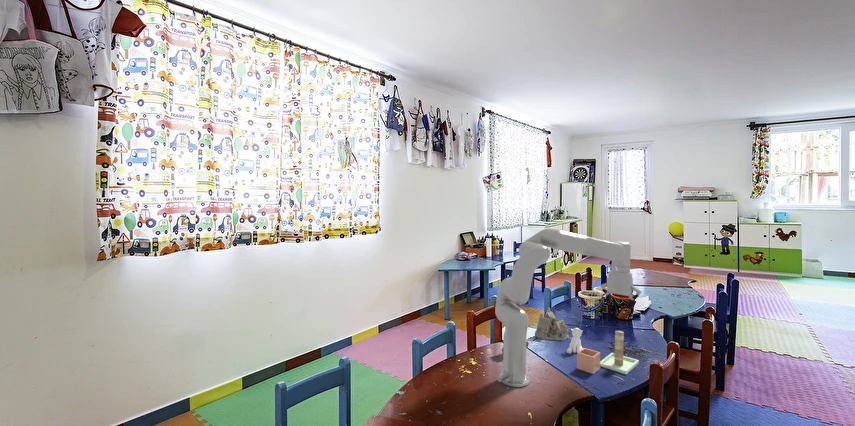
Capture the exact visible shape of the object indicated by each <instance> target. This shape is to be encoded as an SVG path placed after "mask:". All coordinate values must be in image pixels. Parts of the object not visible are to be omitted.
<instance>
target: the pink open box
mask: <svg viewBox="0 0 855 426" xmlns="http://www.w3.org/2000/svg"><path fill="white" fill-rule="evenodd" d="M582 348H583V349H582V350H580V351H579V352H577V351H576V369H577V370H581V371H584V372H586V373H589V374H592V375H594V374H596V372H598V371H599V370H600V369H601V367H600V361H601V352H600V351H597V350H593V349H589V348H586V347H582Z"/></svg>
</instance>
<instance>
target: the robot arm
mask: <svg viewBox="0 0 855 426" xmlns="http://www.w3.org/2000/svg"><path fill="white" fill-rule="evenodd" d="M549 248H551V249H555V250H557V251H558V250H559V251H563V252H569V253H573V254H577V255H583V256H586V257H587V256H588V257H596V258H601V259H604V260H610V261H611V264H608V269H610V270H609V272H608V277H607V281H606V282H605V283H602V284H600V288H601V290H602V292H603V293H604V295H605V302H606V305H610V304H611V303H612V294H615V295H619V296H620V295H621V296H625V297H626V296H627V297H628V299H629V303H628V307H629V310H631V309H634V307H635V300H636V299H638V298H639V297H640V295H641V294H642V290H640V289H639V288H637V287H635V286H634V279H633V273H632V272H631V255H632V253H631V249H632V247H631V244H630V242H627V241H612V242H611V241H608V240H603V239H599V238H595V237H592V236H588V235H584V234H579V233H574V232H570V231H566V230H562V229H556V228H549V227H547V228H544V229H542V230H540V231H538V232H537V233H535V234H533V235H532V236H530V237H528V238H527V239H526V240H525V241H523V242H521V244H520V245H519V246H518V255H519V258H517V260H516V261H515V263H514V264H513V268H512V270H511V271H512V272H511V276H510V277H506V278H504V279H503V280H502V281H500V283H499V286H498V290H497V294H496V302H495V308H494V309H495V310H494V313H495V317H496V318H497V320H499V322H500V323H502V324H503V325H505V330H504V332H503V338H502V340H503V347H502V348H503V352H502V355H503V356H502V358H503V359H502V363H503V366H502V372H501V373H500V374H499V377H497V379H496V380H497V382H498V383H502V384H504V385H506V386H509V387H513V388H520V387H522V388H523V387H526V386H528V385H529V384H530V382H531V381H530V380H531V378H530V376H528V374H527V348H526V341H527V333H528V330H529V329H528V328H529V321H530V320H529V317H528V314H527V313H526V311H525V310H524V309H522V308H521V307H519V306H518V305H521V306H522V305H525V304H526V303H527V302H528V301H529V298H530V294H531V289H532V288H531V287H532V282H533V281H532V280H533V277H534V274H535V271H536V270H537V268H538V267H540V266H541V265H544V264H545V263H546V262H547V261H549V258H550V256H551V251H550V249H549ZM634 292H635V294H634Z"/></svg>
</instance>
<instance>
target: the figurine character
mask: <svg viewBox="0 0 855 426" xmlns="http://www.w3.org/2000/svg"><path fill="white" fill-rule="evenodd" d="M499 342H500V343H503V339H500V340H499ZM528 347H529V342H528V341H527V340H526V349H527V348H528ZM501 351H502V353H503V347H502V348H501Z"/></svg>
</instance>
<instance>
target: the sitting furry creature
mask: <svg viewBox="0 0 855 426" xmlns="http://www.w3.org/2000/svg"><path fill="white" fill-rule="evenodd" d="M570 330H571V335H572V337H571V339H570V343H569V345H568V348H567V350H566V351H565V352H566V353H567V354H572V353H576V354H577V352H579V351H580V350H582V349H583V348H584V347H583V346H582V341H581V338H580V337H581V336H582V333H583V331H584V330H582V329H580V328H579V327H574V328H570Z"/></svg>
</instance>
